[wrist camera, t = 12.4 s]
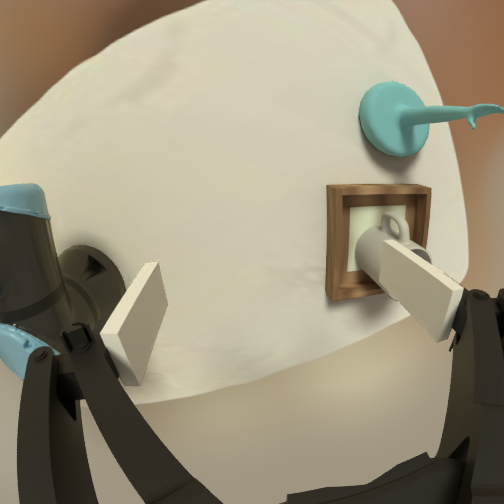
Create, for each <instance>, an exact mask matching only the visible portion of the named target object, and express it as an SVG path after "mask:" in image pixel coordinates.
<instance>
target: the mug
mask: <svg viewBox="0 0 504 504" xmlns="http://www.w3.org/2000/svg"><path fill="white" fill-rule="evenodd" d="M391 219H393V220H394V221H395V222H396V223H397V225H398V227H399V233H398V232H396V231H394V230H393V229H391V226H390V220H391ZM383 240H395V241H396V242H398V243H400V244H401V245H403V246H404V247H406V248H407V249H409V250H410V251H412V252H413V253H415V254H416V255H418V256H419V257H421V258H422V259H424V260H425V261H427V262H428V263H430V264H431V265H432V259H431V256H430V254H429V253H428V251H426V250H425V249H424V248H423V247H421V246H419V245H418V244H416V243H415V242H413V241H411V240H410V235H409V226H408V223H407V221H406V220H405V219H404V218H403V217H402V216H401V215H400V214H398V213H396V212H392V211H388V212H385V213H383V215H382V218H381V225H376V226H373V227H370V228H369V229H367V230H366V231H365V232H364V233H363V234H362V235H361V236H360V238H359V240H358V242H357V245H356V249H355V257H356V260H357V263H358V265H359V266H360V267H361V269H363V270H364V271H365V272H366V273H367V274H368V275H369V276H370V277H371V278H372V279H373V280H374V281H375V282H376V283H377V284H378V285H379V286H380V287H381V288H382V289H383V290H384V291H385V292H386V293H387V294H388V295H389V296H390V297H391V298H392V299H394V300H396V301H398V300H397V299H396V298H395V297H394V296H393V295H392V294H391V293H390V292H389V291H388V290H387V289H386V288H385V287H384V286H383V285H382V284H381V283H380V282H379V275H380V267H381V257H382V247H383Z"/></svg>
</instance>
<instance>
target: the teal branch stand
mask: <svg viewBox="0 0 504 504" xmlns="http://www.w3.org/2000/svg"><path fill="white" fill-rule="evenodd" d="M492 113H502V114H504V108H502V107H500V106H498V105H493V104H477V105H474V106H472V107H461V106H429V107H425V106H424V103H423V101H422V100H421V99H420V98H419V96H418V95H417V94H416V93H415V92H414V91H413V90H412V89H410V88H409V87H407V86H406V85H404V84H401V83H397V82H394V81H391V82H384V83H379V84H377V85H375V86H374V87H372V88H371V89H370V90H368V91H367V92H366V93H365V95H364V97H363V98H362V100H361V104H360V111H359V116H360V122H361V127H362V129H363V131H364V133H365V135H366V137H367V139H368V140H369V141H370V142H371V144H372V145H373V146H374V147H375V148H376V149H378V150H380V151H381V152H383V153H385V154H387V155H391V156H398V157H406V156H410V155H413V154H415V153H417V152H418V151H419V150H420V149H421V148H422V147H423V146H424V144H425V142H426V140H427V138H428V134H429V124H430V123H439V122H447V121H452V120H457V119H462V118H466V119H467V122H468V123H469V125H470V126H471V127H472V129H475V128H476V126H475V124H474V122H475V121H476V119H477V118H479V117H483V116H486V115H489V114H492Z"/></svg>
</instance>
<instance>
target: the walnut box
mask: <svg viewBox="0 0 504 504" xmlns="http://www.w3.org/2000/svg"><path fill="white" fill-rule="evenodd" d="M430 206H431V188H429V187H426V186H422V185H418V184H343V185H327V256H326V283H325V290H326V292H327V293H328V295H329V297H330V298H331V300H332V301H338V300H344V299H351V298H357V297H363V296H369V295H375V294H380V293H386V292H385V291H384V290H383V289H382V288H381V287H380V286H379V285H378V284H377V283H376V282H375V281H374V280H373V279H372V278H371V277H370V276H369V275H368V274H367V273H366V272H365V271H364V270H363V269H361V267H360V266H359V265H358V263H357V260H356V257H355V249H356V245H357V242H358V240H359V238H360V236H361V235H362V234H363V233H364V232H365V231H366V230H367V229H369V228H370V227H373V226H376V225H381V218H382V215H383V213H385V212H388V211H392V212H396V213H398V214H400V215H401V216H402V217H403V218H404V219H405V220H406V221H407V223H408V226H409V235H410V240H411V241H413V242H415V243H416V244H418V245H419V246H421V247H423V248H424V249H425V250H426V245H427V237H428V228H429V218H430ZM390 226H391V229H393V230H394V231H396V232H398V233H399V227H398V225H397V223H396V222H395V221H394V220H393V219H391V220H390Z"/></svg>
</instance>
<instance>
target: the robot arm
mask: <svg viewBox="0 0 504 504" xmlns="http://www.w3.org/2000/svg"><path fill="white" fill-rule="evenodd" d="M50 220H51V217H50V215H49V214H48V209H47V204H46V199H45V194H44V191H43V189H42V188H41V187H40V186H39V185H37V184H33V183H27V184H14V185H6V186H0V358H1V359H2V361H3V362H4V363H5V364H6V366H7V367H8V368H9V369H11V371H12V372H14V373H15V374H16V375H17V376H18V377H20V378H21V379H22V380H24V382H23V388H22V395H21V402H20V410H19V411H20V412H19V421H18V437H17V477H18V491H19V501H20V504H98V500H97V497H96V493H95V489H94V486H93V482H92V477H91V473H90V468H89V463H88V458H87V453H86V448H85V442H84V435H83V427H82V419H81V409H80V400H82V399H85V400H86V402H87V404H88V406H89V409H90V411H91V413H92V415H93V417H94V419H95V421H96V424H97V425H98V427H99V430H100V432H101V433H102V435H103V437H104V439H105V441H106V443H107V445H108V446H109V448H110V450H111V452H112V454H113V455H114V457H115V459H116V460H117V462H118V464H119V465H120V467H121V468H122V470H123V472H124V473H125V475H126V476H127V478H128V479H129V481H130V482H131V484H132V485H133V487H134V488H135V489H136V491H137V492H138V494H139V495H140V496H141V498H142V499H143V501H144V502H145V504H223V503H222V502H221V501H220V500H219V499H218V498H216V497H215V496H214V495H213V494H212V493H211V492H210V491H209V490H208V489H207V488H206V487H205V486H204V485H203V484H202V483H200V482H199V481H198V480H197V479H195V478H194V477H193V476H192V475H191V474H190V473H189V472H188V471H187V470H186V469H185V468H184V467H183V466H182V465H181V463H179V461H178V460H177V459H176V458H175V457H174V456H173V455H172V453H171V452H170V451H169V450H168V449H167V447H166V446H165V445H164V444H163V443H162V441H161V440H160V439H159V437H158V436H157V435H156V434H155V433H154V431H153V430H152V429H151V427H150V426H149V425H148V423H147V422H146V421H145V419H144V418H143V417H142V415H141V414H140V412H139V411H138V410H137V408H136V407H135V405H134V404H133V402H132V401H131V399H130V398H129V396H128V395H127V393H126V392H125V390H124V389H123V387H122V385H121V384H120V382H119V381H118V378H119V376H120V378H121V380H122V382H123V384H124V385H125V386H141V383H142V380H143V376H144V373H145V370H146V367H147V364H148V361H149V358H150V355H151V352H152V349H153V346H154V343H155V340H156V337H157V334H158V331H159V328H160V325H161V323H162V320H163V317H164V314H165V311H166V309H167V306H168V302H167V298H166V294H165V289H164V285H163V281H162V276H161V272H160V267H159V262H150V263H145V265H144V266H143V268H142V269H141V271H140V272H139V273H138V275H137V276H136V278H135V279H134V281H133V282H132V284H131V285H130V287H129V288H128V290H127V291H126V293H125V286H124V282H123V279H122V276H121V274H120V272H119V270H118V269H117V267H116V266H115V264H114V263H113V262H112V261H111V260H110V259H109V258H108V257H107V256H106V255H105V254H104V253H102V252H101V251H99V250H97V249H95V248H93V247H90V246H85V245H78V246H73V247H71V248H69V249H67V250H66V251H65V252H63V253H62V254H61V255H60V256H59V257H57V253H56V249H55V244H54V239H53V234H52V229H51V223H50ZM379 282H380V283H381V284H382V285H383V286H384V287H385V288H386V289H387V290H388V291H389V292H390V293H391V294H392V295H393V296H394V297H395V298H396V299H397V300H398V301H399V302H400V303H401V305H402V306H403V307H404V308H405V309H406V310H407V311H408V312H409V313H410V314H411V315H412V316H413V317H414V318H415V319H416V320H417V321H418V322H419V323H420V325H421V326H422V327H423V328H424V329H425V330H426V331H427V332H428V333H429V334H430V335H431V337H432V338H433V339H434V340H435V341H436V342H437V343H438V342H440V341H443V340H446V339H448V337H449V334H450V332H451V329H452V328H453V329H454V330H455V331H456V333H455V336H454V339H453V342H452V344H451V346H450V349H449V351H451V349H452V348H453V361H452V374H451V384H450V393H449V400H448V407H447V413H446V418H445V424H444V429H443V433H442V438H441V443H440V446H439V450H438V452H437V454H436V456H435V458H430V457H429V456H428V454H427V452H425V453H423V454H421V455H418V456H416V457H414V458H412V459H409V460H407V461H405V462H402V463H400V464H398V465H396V466H395V467H393V468H392V469H391V470H389V471H387V472H386V473H384V474H383V475H381V476H380V477H378V478H377V479H375V480H373V481H372V482H370V483H368V484H365V485H358V486H344V487H325V488H320V489H315V490H310V491H305V492H300V493H294V494H287V501H286V502H283V503H280V504H504V288H503V289H500V290H499V293H498V296H497V298H491V297H490V296H489V295H488V294H487V293H486V292H484V291H482V290H478V289H473V290H470V291H468V290H467V289H465V288H464V287H463V286H461V285H460V284H459V283H457V282H455V280H453V279H452V278H450V277H449V276H448V275H446V274H445V273H443V272H441V271H440V270H438V269H437V268H435V267H434V266H433V265H431V264H430V263H428V262H427V261H425V260H424V259H422V258H421V257H419V256H418V255H416V254H415V253H413V252H412V251H410V250H409V249H407V248H406V247H404V246H403V245H401V244H400V243H398V242H396V241H395V240H383V247H382V257H381V267H380V275H379Z"/></svg>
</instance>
